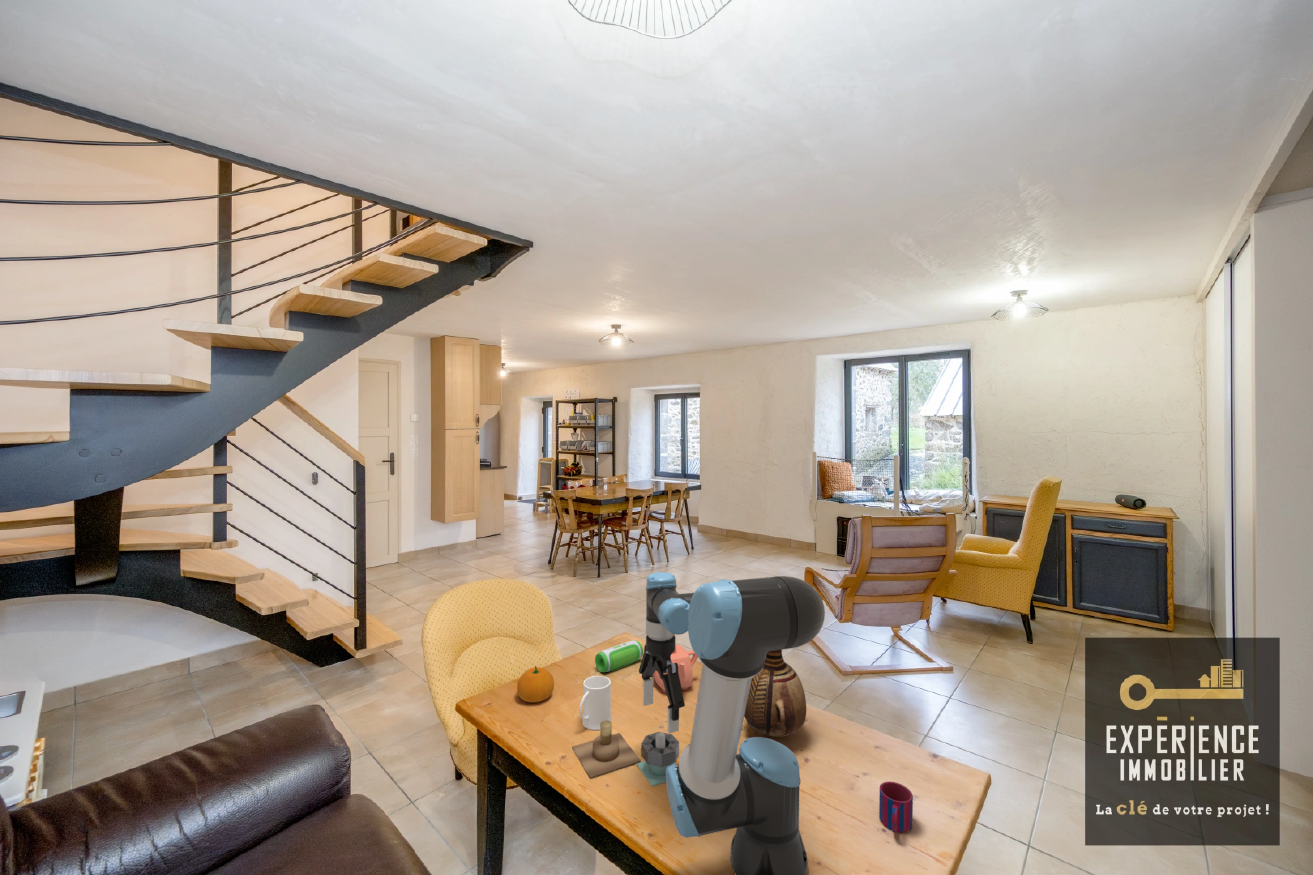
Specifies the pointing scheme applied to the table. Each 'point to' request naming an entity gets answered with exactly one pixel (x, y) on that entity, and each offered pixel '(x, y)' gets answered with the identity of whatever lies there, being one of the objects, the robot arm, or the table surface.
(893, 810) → the cup
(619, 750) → the hub
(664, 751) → the clutch ring
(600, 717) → the mug
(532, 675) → the fruit
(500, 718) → the table surface
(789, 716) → the vase
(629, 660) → the speaker
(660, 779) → the stand
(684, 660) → the teapot
